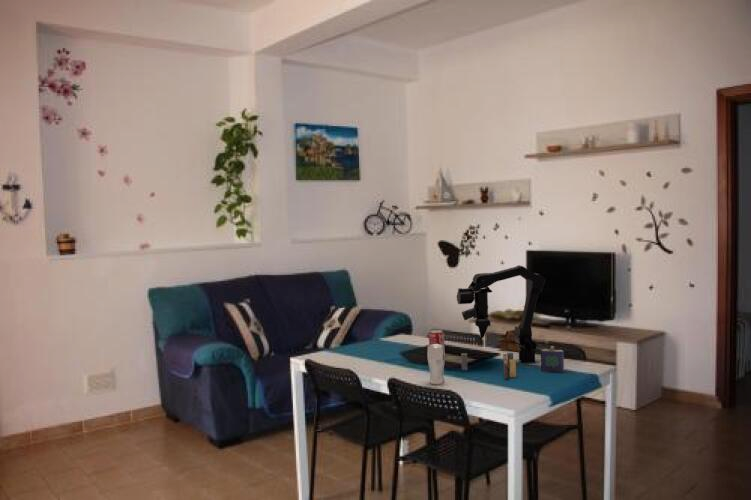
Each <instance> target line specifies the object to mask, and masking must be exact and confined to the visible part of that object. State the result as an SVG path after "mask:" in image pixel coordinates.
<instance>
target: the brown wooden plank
mask: <svg viewBox="0 0 751 500" xmlns="http://www.w3.org/2000/svg"><path fill="white" fill-rule="evenodd" d="M502 357H503V358H502V359H503V362H502V363H503V367H502V368H503V374H504V375H503V376H504V379H505V380H508V376H509V375H508V373H509V372H508V369H510V366H507V353H503V354H502Z"/></svg>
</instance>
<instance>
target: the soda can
mask: <svg viewBox="0 0 751 500" xmlns="http://www.w3.org/2000/svg"><path fill="white" fill-rule="evenodd" d="M431 344H441V345H444V351H445V334H444V331H443V330H442V329H433V330H430V332H429V336H428V345H431ZM445 352H446V351H445Z"/></svg>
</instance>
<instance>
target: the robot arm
mask: <svg viewBox="0 0 751 500" xmlns="http://www.w3.org/2000/svg"><path fill="white" fill-rule="evenodd" d="M515 277H521V278H523V279H524V280H526V290H527V293H526V297H525V303H524V306H523V311H522V316H521V320H520V323H519V324H518V326H517V325H515V326H514V330H515V331H514V333H513V335H514V339H515V341H516V342H518V345H519V346H521V347H520V350H518V351H517V352H518V360H519V362H520V364H525V363H529V364H531V363H537V360H536V350H537V347H538V344H537V343H536V342H535V341H534V340H533V331H532V323H533V318H534V314H535V310H536V305H537V302H538V297H539V295H540V293H541V292H542V290H543V287H544V286H545V283H546V279H545V276H543V275H542V274H540V273H536V272H533V271H531V270H529V269H528V268H526V267H525V266H524V265H516V266H514V267H513V266H512V267H508V268H505V269H502V270H498V271H495V272H494V271H493V272H482V273H476V274H474V276H473V278H472V281H471V282H470V284H469V285H468V287H466V288H461V287H460V288H457V293H456V302H457V304H458V305H468V304H472V303H474V304H473V307H472V308H469V309H467V310H463V311H462V312H461V315H462V317H463V320H464V321H468V320H469V319H472V318H473V319H474V322H473V323H474V325H475V327H477V328H478V331H479V335H480V337H479V338H480V339H484V338H485V335H486V333H487V330H488V328H489V327H490V326H491V320H490V319H489V301H488V299H489V297H488V293H489V294H490V293H493V290H492V289H491V288H490V286H492V285H493V284H495V283H496V282H500V281H505V280H507V279H511V278H512V279H513V278H515Z"/></svg>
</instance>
